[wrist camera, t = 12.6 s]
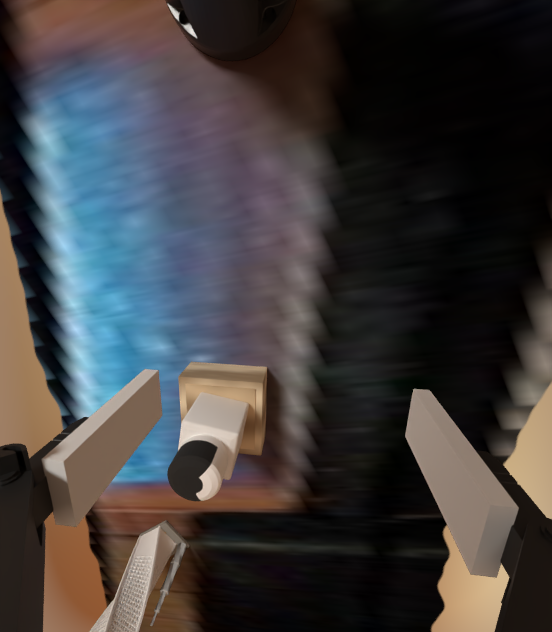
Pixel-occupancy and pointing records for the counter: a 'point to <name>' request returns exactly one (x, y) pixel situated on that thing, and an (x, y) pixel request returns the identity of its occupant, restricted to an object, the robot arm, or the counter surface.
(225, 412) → the medicine bottle
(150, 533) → the skyscraper
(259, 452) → the base block
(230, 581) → the counter surface
